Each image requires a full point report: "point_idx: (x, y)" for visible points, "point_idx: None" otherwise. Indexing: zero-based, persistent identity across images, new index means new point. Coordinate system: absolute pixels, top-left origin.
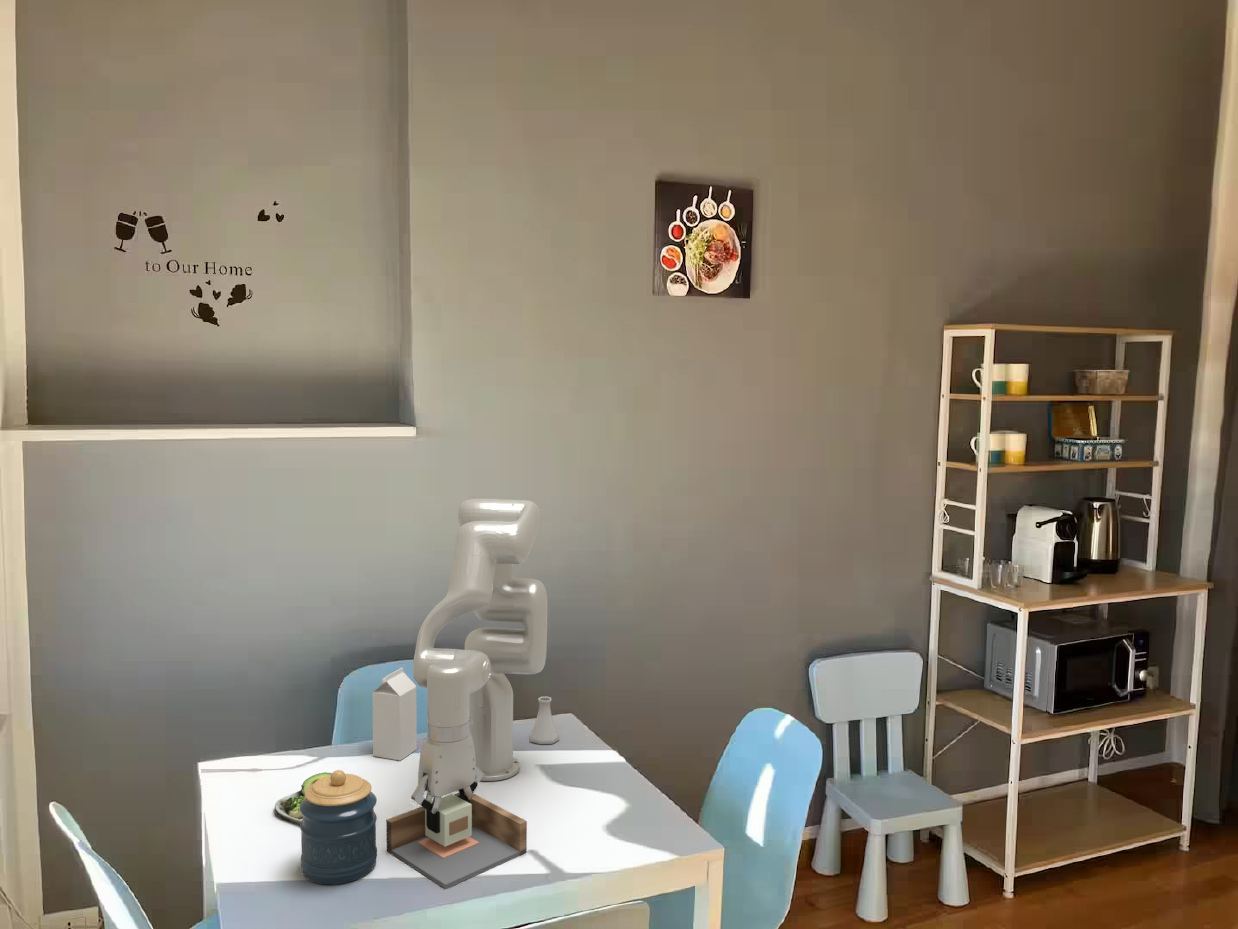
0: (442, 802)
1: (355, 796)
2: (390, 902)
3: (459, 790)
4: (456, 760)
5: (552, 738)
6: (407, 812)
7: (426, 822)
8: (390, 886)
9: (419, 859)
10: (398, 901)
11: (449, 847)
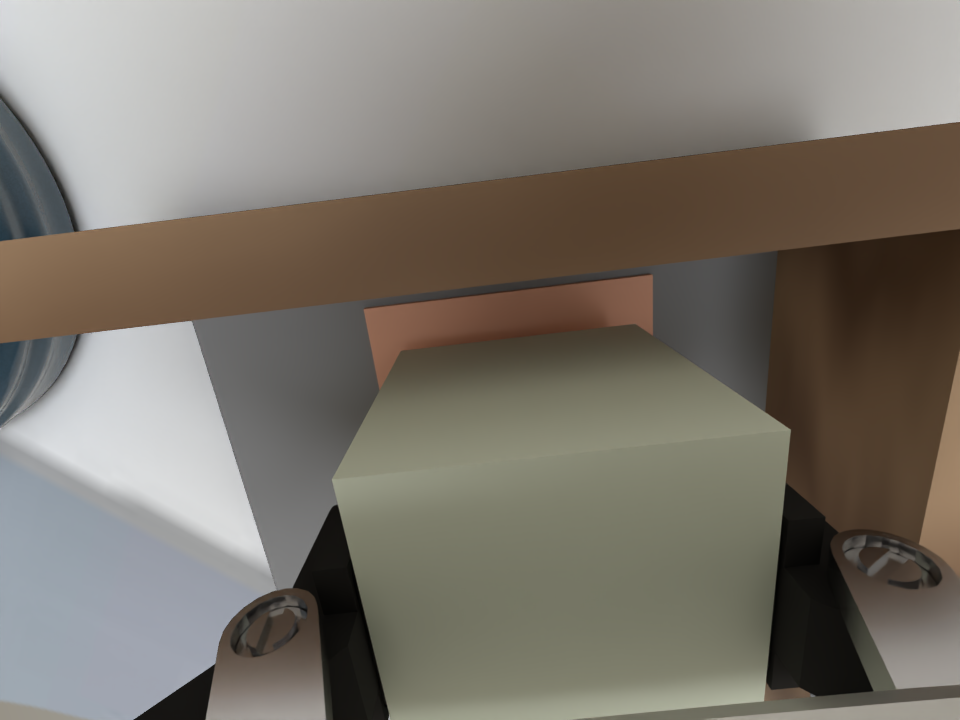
0: (539, 563)
1: None
2: (79, 658)
3: (862, 652)
4: None
5: None
6: (227, 228)
7: (326, 519)
8: (109, 561)
9: (296, 485)
10: (113, 668)
11: None
